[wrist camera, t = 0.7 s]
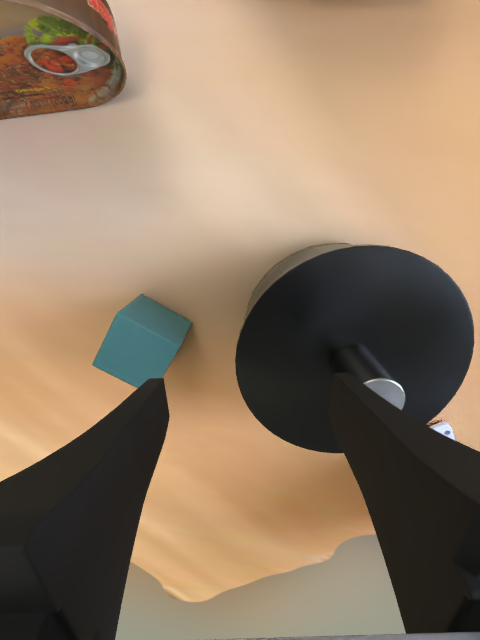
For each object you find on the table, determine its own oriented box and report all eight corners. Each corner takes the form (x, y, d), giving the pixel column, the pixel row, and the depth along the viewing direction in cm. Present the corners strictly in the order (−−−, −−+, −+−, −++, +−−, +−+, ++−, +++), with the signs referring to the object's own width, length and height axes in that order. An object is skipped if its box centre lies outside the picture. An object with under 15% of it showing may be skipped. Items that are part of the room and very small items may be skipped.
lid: (482, 395, 18) (555, 451, 14) (291, 465, 21) (302, 531, 16) (425, 193, 14) (503, 184, 10) (195, 313, 17) (177, 347, 12)
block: (192, 322, 22) (180, 347, 18) (168, 363, 23) (151, 395, 19) (141, 293, 21) (116, 312, 17) (119, 337, 23) (91, 365, 19)
